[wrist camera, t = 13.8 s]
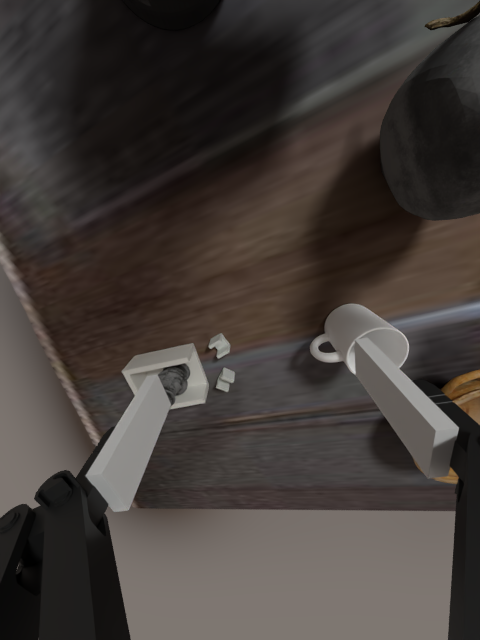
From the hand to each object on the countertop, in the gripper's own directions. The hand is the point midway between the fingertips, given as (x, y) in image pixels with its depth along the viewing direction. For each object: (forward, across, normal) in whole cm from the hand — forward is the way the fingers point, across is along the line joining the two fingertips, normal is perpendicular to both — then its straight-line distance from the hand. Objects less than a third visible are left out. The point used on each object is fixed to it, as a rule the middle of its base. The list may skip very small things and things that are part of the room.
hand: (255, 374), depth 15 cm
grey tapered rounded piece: (+24, -18, -14) cm, 33 cm away
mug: (+25, +13, -12) cm, 31 cm away
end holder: (+24, -19, -14) cm, 34 cm away
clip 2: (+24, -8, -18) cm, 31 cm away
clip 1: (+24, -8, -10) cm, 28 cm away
